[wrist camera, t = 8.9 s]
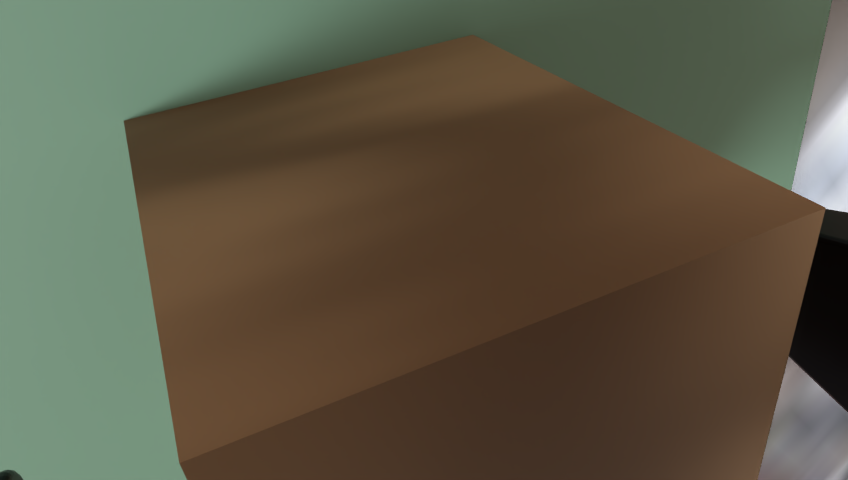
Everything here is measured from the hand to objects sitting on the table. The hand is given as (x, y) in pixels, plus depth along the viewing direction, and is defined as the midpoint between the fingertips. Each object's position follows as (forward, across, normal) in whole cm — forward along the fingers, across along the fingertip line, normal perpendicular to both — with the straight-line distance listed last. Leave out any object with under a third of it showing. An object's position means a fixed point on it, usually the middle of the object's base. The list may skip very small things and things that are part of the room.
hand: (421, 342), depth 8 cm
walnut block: (+3, 0, 0) cm, 3 cm away
